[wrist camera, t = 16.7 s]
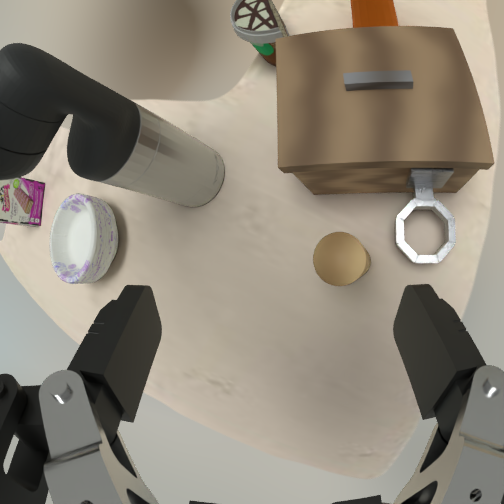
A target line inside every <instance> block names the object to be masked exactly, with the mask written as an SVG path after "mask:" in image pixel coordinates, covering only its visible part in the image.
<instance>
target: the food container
mask: <svg viewBox="0 0 504 504" xmlns="http://www.w3.org/2000/svg"><path fill="white" fill-rule="evenodd" d="M230 15H231V23H232V26H233V28H234V31H235V33H236V34H237V35H238V36H239V37H240V38H241V39H243V40H245V41H248V42H250V43H251V44H252V45H253V46H254V47H255V48H256V50H257V51H258V52H259V53H260V54H261V55H262V56H263V58H264V59H265V60H266V61H267V62H268V63H270V64H271V65H274V66H276V39H277V38H282V37H288V36H289V34H288V31H287V29H286V26H285V24H284V22H283V21H282V19H281V17H280V15H279V13H278V11H277V10H276V8H275V6H274V4H273V2H272V1H271V0H236V2H235V3H234V5H233V6H232V9H231V14H230Z"/></svg>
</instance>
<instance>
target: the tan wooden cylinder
mask: <svg viewBox="0 0 504 504" xmlns="http://www.w3.org/2000/svg"><path fill="white" fill-rule="evenodd" d="M313 263H314V267H315V270H316V272H317V274H318V275H319V277H320V278H321V279H322V280H323V281H325V282H326V283H328V284H331V285H334V286H345V285H348V284H350V283H352V282H354V281H355V280H357V279H358V278H359V277H361V276H362V275H364V274H365V273H366V272H367V271H368V269H369V267H370V263H371V260H370V256H369V254H368V252H367V251H366V249H365V248H364V247H363V245H362V244H361V243H360V242H359V240H358V239H357V238H355V237H354V236H352V235H350V234H348V233H344V232H335V233H331V234H329V235H327V236H325V237H324V238H323V239H322V240H321V241H320V242H319V243H318V245H317V246H316V248H315V251H314V255H313Z"/></svg>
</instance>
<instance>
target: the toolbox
mask: <svg viewBox="0 0 504 504" xmlns="http://www.w3.org/2000/svg"><path fill="white" fill-rule="evenodd" d="M276 72H277V123H278V168H279V169H280V170H281V171H282V172H283V173H293V174H294V175H295V176H296V177H297V178H298V179H299V180H300V181H301V182H302V183H303V184H304V185H305V186H306V187H307V188H308V189H309V190H310V191H311V192H312V193H313V194H314V195H321V194H347V193H390V192H413V188H406V180H407V177H408V174H409V170H410V168H453V170H454V173H453V174H452V175H451V177H450V178H449V179H448V181H447V182H446V183H445V184H444V186H443V187H442V188H433V192H444V193H457V192H458V191H459V190H460V189H461V188H462V187H463V186H464V185H465V184H466V183H467V182H468V181H469V180H470V179H471V178H472V177H473V175H474V174H475V173H476V172H477V171H478V170H479V169H486V170H488V169H489V168H490V167H491V166H492V165H493V164H494V159H493V153H492V148H491V143H490V138H489V134H488V130H487V125H486V121H485V117H484V114H483V110H482V106H481V103H480V99H479V96H478V93H477V90H476V86H475V83H474V80H473V77H472V74H471V72H470V69H469V66H468V63H467V61H466V58H465V56H464V53H463V51H462V48H461V46H460V43H459V41H458V39H457V36H456V34H455V32H454V30H453V28H441V27H423V26H377V27H359V28H346V29H336V30H327V31H319V32H312V33H305V34H299V35H293V36H288V37H282V38H277V39H276Z"/></svg>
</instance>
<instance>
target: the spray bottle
mask: <svg viewBox="0 0 504 504" xmlns="http://www.w3.org/2000/svg"><path fill="white" fill-rule="evenodd" d="M351 9H352V19H353V28H359V27H377V26H398V21H397V16H396V12H395V7H394V3H393V0H351Z"/></svg>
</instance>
